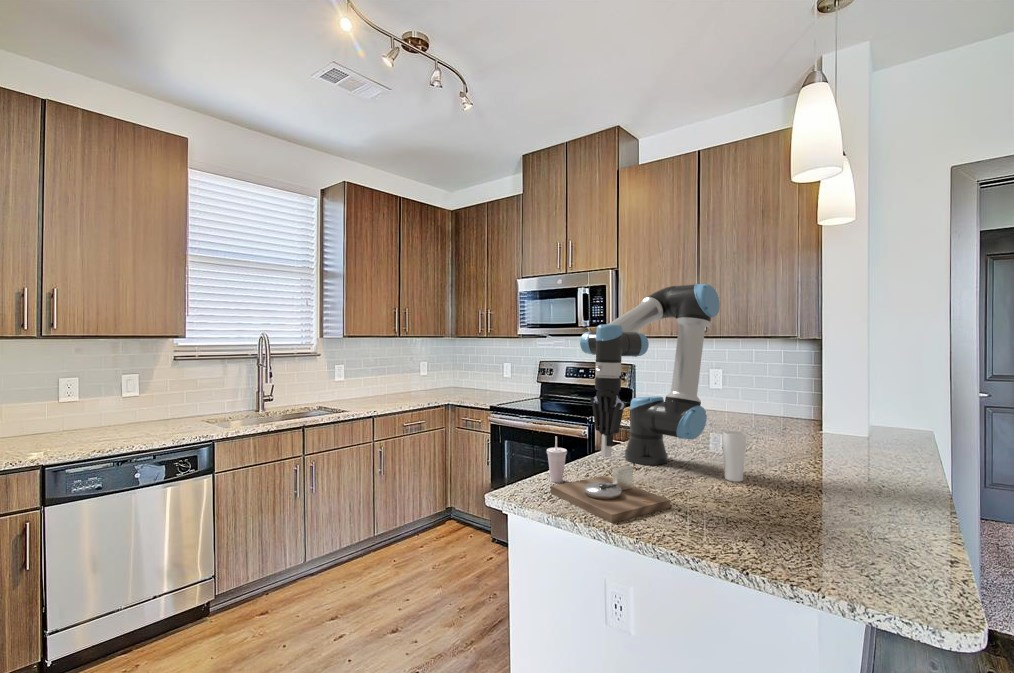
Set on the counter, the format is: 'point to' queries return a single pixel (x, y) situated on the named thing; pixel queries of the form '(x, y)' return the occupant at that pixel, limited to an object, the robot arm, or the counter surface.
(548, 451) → the smoothie
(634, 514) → the panel
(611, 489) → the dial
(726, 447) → the drinking glass
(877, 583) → the counter surface
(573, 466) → the counter surface
